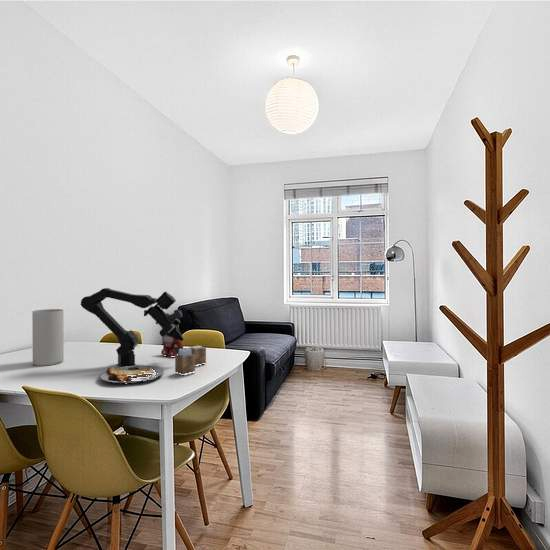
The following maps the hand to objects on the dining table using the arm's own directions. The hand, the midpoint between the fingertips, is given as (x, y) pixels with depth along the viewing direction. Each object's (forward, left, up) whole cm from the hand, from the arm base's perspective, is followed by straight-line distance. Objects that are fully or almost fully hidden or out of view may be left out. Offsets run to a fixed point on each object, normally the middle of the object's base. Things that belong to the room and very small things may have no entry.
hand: (183, 340), depth 169 cm
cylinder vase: (-41, +50, -12) cm, 66 cm away
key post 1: (+5, -5, -12) cm, 13 cm away
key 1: (+5, -5, -11) cm, 13 cm away
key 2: (-7, -13, -9) cm, 17 cm away
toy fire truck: (+7, +19, -12) cm, 23 cm away
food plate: (-25, -1, -12) cm, 28 cm away
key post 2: (-7, -13, -12) cm, 19 cm away
